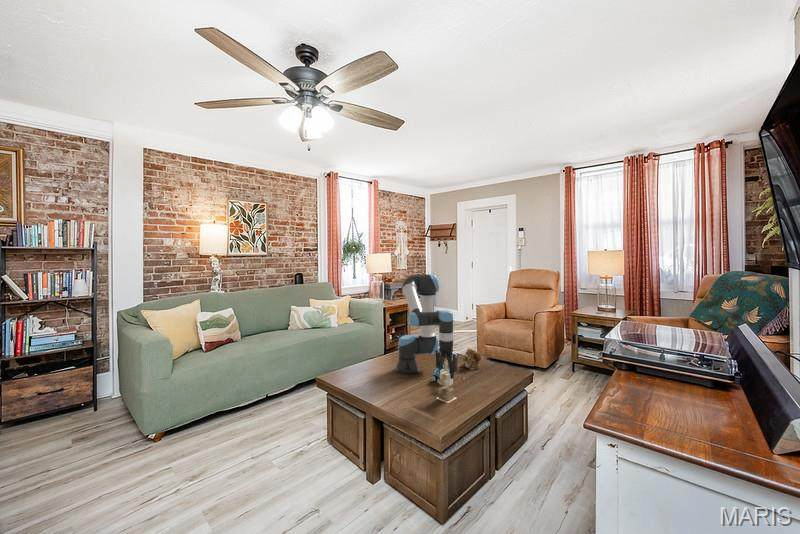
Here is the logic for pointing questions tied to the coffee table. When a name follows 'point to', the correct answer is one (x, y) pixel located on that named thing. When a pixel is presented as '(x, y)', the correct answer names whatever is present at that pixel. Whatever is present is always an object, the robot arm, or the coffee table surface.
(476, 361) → the stuffed squirrel
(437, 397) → the pad
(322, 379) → the coffee table surface
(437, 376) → the toy excavator
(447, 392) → the walnut block
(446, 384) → the maple block
